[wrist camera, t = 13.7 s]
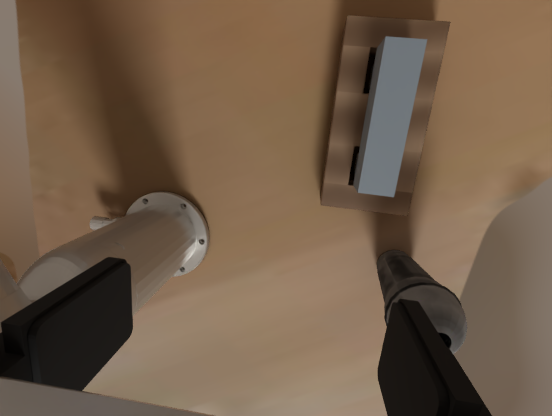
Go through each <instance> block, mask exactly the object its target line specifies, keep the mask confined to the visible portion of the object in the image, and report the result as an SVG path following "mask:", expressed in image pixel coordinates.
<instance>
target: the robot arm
mask: <svg viewBox="0 0 552 416" xmlns="http://www.w3.org/2000/svg"><path fill="white" fill-rule="evenodd" d="M185 204H186V206H185ZM90 228H91V229H92V230H95V231H93V232H90V233H88V234H86V235H84V236H81V237H79V238H77V239H75V240H73V241H70V242H68V243H66V244H64V245H61V246H59V247H57V248H55V249H53V250H51V251H49V252H48V253H46V254H44V255H43V256H42V257H40V258H39V259H38V260H37V261H35V262H34V263H33V264H32V265H31V266H30V267H29V268H28V269H27V271H26V272H25V273H24V274H23V275H22V277H21V279H20V280H19V281H18V283H17V284H16V282H15V281H14V279H13V278H12V276H11V275H10V273H9V271H8V270H7V268H6V267H5V265H4V264H3V262H2V261H1V259H0V416H214V415H209V414H204V413H198V412H193V411H188V410H183V409H177V408H172V407H166V406H161V405H156V404H150V403H145V402H140V401H134V400H129V399H123V398H118V397H112V396H107V395H101V394H96V393H90V392H84V391H82V390H83V389H84V388H85V387H86V386H87V384H88V383H89V382H90V381H91V380H92V379H93V378H94V377H95V376H96V374H97V373H98V372H99V371H100V370H101V369H102V368H103V367H104V365H105V364H106V363H107V362H108V361H109V360H110V359H111V358H112V356H113V355H114V354H115V353H116V352H117V351H118V350H119V349H120V347H121V346H122V345H123V344H124V343H125V342H126V341H127V340H128V338H129V337H130V335H131V333H132V329H133V318H132V316H133V315H134V314H135V313H136V312H137V311H138V310H139V309H140V308H141V307H142V306H143V305H144V304H145V303H146V302H147V301H148V300H149V299H150V298H151V297H152V296H153V295H154V294H155V293H156V292H157V291H158V290H159V289H160V288H161V287H162V286H163V285H164V284H165V283H166V282H167V281H168V280H169V279H170V278H171V277H173V276H180V275H184V274H187V273H188V272H190V271H192V270H193V269H195V268H196V267H197V266H198V265H199V264H200V263H201V261H202V260H203V259H204V257H205V255H206V253H207V250H208V247H209V230H208V227H207V223H206V221H205V219H204V217H203V215H202V214H201V212H200V211H199V210H198V208H197V207H196V206H195V205H194V204H193V203H192V202H190V201H189V200H187V199H186V198H184V197H182V196H180V195H178V194H175V193H171V192H160V191H159V192H153V193H150V194H147V195H144V196H142V197H141V198H139V199H137V200H136V201H135V202H134V203H133V204H132V205H131V206H130V208H129V209H128V211H127V213H126V215H125V216H124V217H122V218H121V217H116V218H114V219H109V218H106V217H98V216H94V217H93V218H92V219H91V221H90ZM203 239H204V241H203ZM378 381H379V385H380V389H381V392H382V396H383V400H384V404H385V408H386V411H387V415H388V416H492V415H491V414H490V412H489V410H488V409H487V407H486V406H485V404H484V402H483V401H482V399H481V398H480V396H479V394H478V393H477V391H476V390H475V388H474V387H473V385H472V383H471V382H470V380H469V379H468V377H467V376H466V374H465V372H464V371H463V369H462V367H461V366H460V364H459V363H458V361H457V360H456V358H455V356H454V355H453V353H452V352H451V350H450V349H449V348H448V347H447V346H446V345H445V343H444V341H443V340H442V338H441V337H440V335H439V333H438V332H437V330H436V329H435V327H434V325H433V324H432V322H431V321H430V319H429V317H428V316H427V314H426V313H425V311H424V309H423V308H422V306H421V305H420V303H419V302H418V301H414V300H407V299H399V300H398V302H393V303H392V306H391V310H390V315H389V320H388V324H387V329H386V333H385V338H384V343H383V347H382V352H381V356H380V361H379V366H378Z"/></svg>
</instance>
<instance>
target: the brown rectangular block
mask: <svg viewBox="0 0 552 416" xmlns="http://www.w3.org/2000/svg"><path fill="white" fill-rule="evenodd" d="M449 26H450V22H447V21H431V20H414V19H398V18H382V17H366V16H350V15H347V19H346V23H345V26H344V32H343V39H342V46H341V54H340V61H339V68H338V75H337V82H336V89H335V97H334V104H333V111H332V118H331V125H330V133H329V140H328V147H327V154H326V161H325V168H324V176H323V183H322V190H321V197H320V200H321V205H323V206H331V207H339V208H347V209H355V210H363V211H371V212H379V213H387V214H395V215H403V216H408V212H409V208H410V203H411V198H412V194H413V189H414V185H415V180H416V176H417V171H418V167H419V162H420V158H421V153H422V149H423V144H424V140H425V135H426V131H427V126H428V121H429V117H430V112H431V108H432V103H433V99H434V94H435V90H436V85H437V81H438V76H439V72H440V67H441V63H442V58H443V54H444V49H445V44H446V40H447V35H448V31H449ZM386 36H388V37H402V38H415V39H427V44H426V48H425V53H424V58H423V62H422V67H421V72H420V77H419V81H418V86H417V91H416V96H415V100H414V105H413V110H412V114H411V119H410V124H409V129H408V133H407V138H406V143H405V147H404V152H403V157H402V162H401V166H400V171H399V176H398V181H397V185H396V190H395V195H394V197H388V196H380V195H372V194H364V193H358V192H357V191H356V189H355V188H354V186H353V183H354V181H351V180H349V175H350V169H351V163H352V157H353V151H354V146H360V143H361V137H362V131H363V126H364V120H365V114H366V108H367V103H368V97H369V94H363V89H364V83H365V77H366V70H367V64H368V58H369V57H375V56H376V51H377V47H378V46H379V45H380V43H381V42H382V41H383V39H384V38H385V37H386Z"/></svg>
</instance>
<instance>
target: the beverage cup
mask: <svg viewBox="0 0 552 416" xmlns="http://www.w3.org/2000/svg"><path fill="white" fill-rule="evenodd" d="M377 270H378V277H379V281H380V285H381V289H382V294H383V298H384V302H385V306H384V308H385V317H384V318H385V322H386V325H387V324H388V320H389V315H390V310H391V306H392V303H393V302H398V300H399V299H407V300H414V301H418V302H419V303H420V305H421V306H422V308H423V309H424V311H425V313H426V314H427V316H428V317H429V319H430V321H431V322H432V324H433V325H434V327H435V329H436V330H437V332H438V333H439V335H440V337H441V338H442V340H443V341H444V343H445V345H446V346H447V347H448V348H449V349H450V350H451V352H452V353H453V354H454V353H455V352H456V351H458V350H459V349H460V347H461V345H462V344H463V342H464V341H465V337H466V332H467V322H466V317H465V313H464V310H463V308H462V306H461V303H460V301H459V300H458V298H457V297H456V295H455V294H454V293H453V292H451V291H450V290H449V289H447V288H446V287H444V286H442V285H441V284H439V283H438V282H436V281H435V280H434V279H433V278H432V277H431V276H430V275H429V274H428V273H427V272H426V271H424V270H423V269H422V268H421V267H420V266H419V265H418V264H417V263H416V262H415V261H414V260H413V259H412V258H411V257H409V256H408V255H407V254H406V253H404V252H402V251H399V250H391V251H387V252H385V253H384V254H382V255H381V256H380V257H379V259H378V262H377Z"/></svg>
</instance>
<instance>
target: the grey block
mask: <svg viewBox="0 0 552 416" xmlns="http://www.w3.org/2000/svg"><path fill="white" fill-rule="evenodd" d="M426 44H427V39H415V38H402V37H388V36H386V37H385V38H384V39H383V41H382V42H381V43H380V45H379V46H378V47H377V51H376V56H375V62H374V65H373V66H372V69H371V74H370V80H369V86H368V90H370V91H369V97H368V103H367V108H366V114H365V120H364V126H363V131H362V137H361V143H360V149H359V154H357V156H356V162H355V168H354V175H355V178H354V183H353V186H354V188H355V189H356V191H357V192H358V193H364V194H372V195H380V196H388V197H394V195H395V190H396V185H397V181H398V176H399V171H400V166H401V162H402V157H403V152H404V147H405V143H406V138H407V133H408V129H409V124H410V119H411V114H412V110H413V105H414V100H415V96H416V91H417V86H418V81H419V77H420V72H421V67H422V62H423V58H424V53H425V48H426Z"/></svg>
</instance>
